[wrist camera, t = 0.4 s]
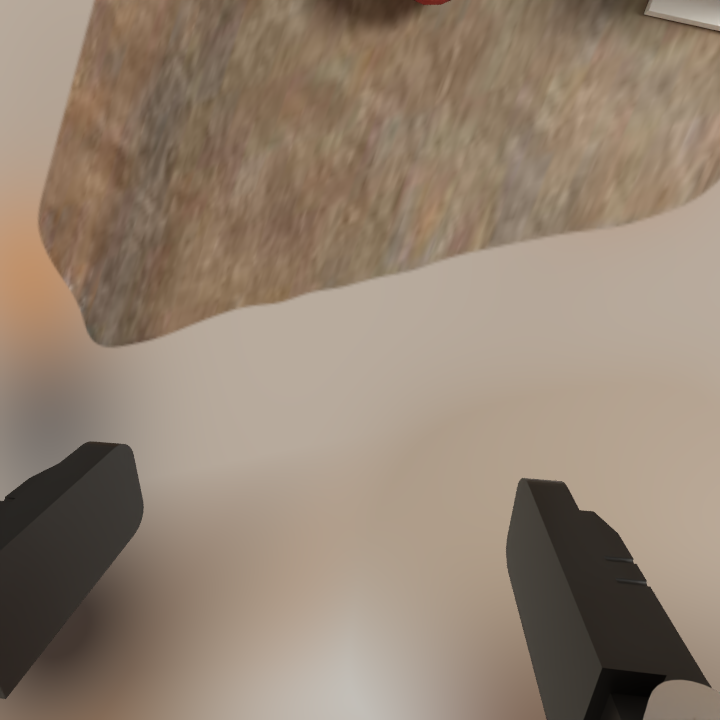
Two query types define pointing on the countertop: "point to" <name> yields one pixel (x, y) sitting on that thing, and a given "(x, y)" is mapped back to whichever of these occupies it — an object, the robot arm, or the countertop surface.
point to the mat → (687, 12)
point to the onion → (432, 2)
